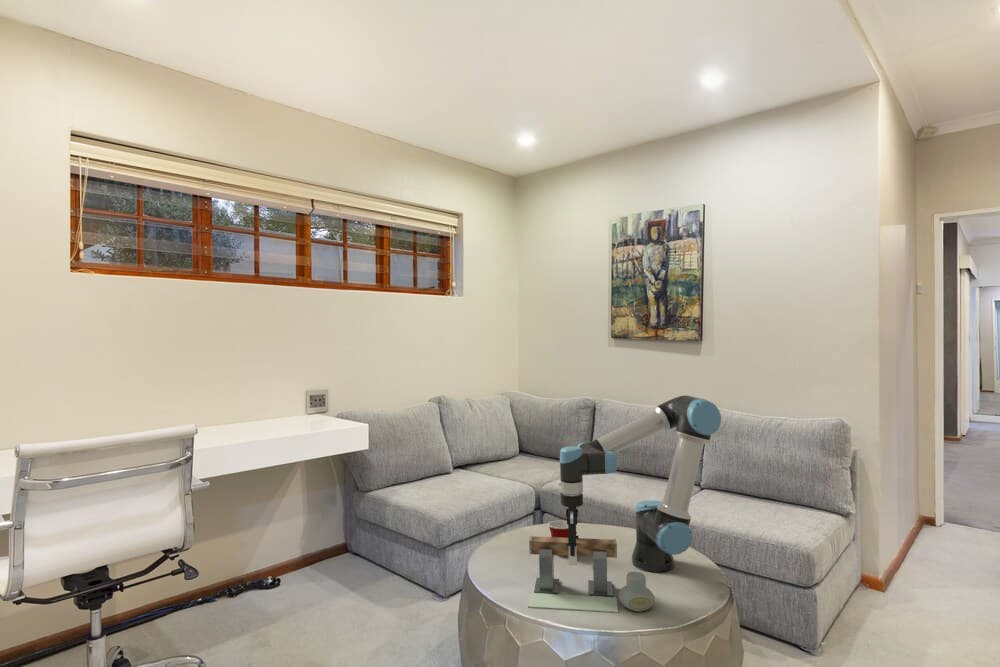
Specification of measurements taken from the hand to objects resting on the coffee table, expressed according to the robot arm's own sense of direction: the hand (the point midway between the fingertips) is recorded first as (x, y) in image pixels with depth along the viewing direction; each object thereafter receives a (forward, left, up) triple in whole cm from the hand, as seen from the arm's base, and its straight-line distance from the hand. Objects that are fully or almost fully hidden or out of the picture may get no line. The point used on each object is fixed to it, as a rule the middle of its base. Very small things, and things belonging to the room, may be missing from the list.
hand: (573, 561), depth 186 cm
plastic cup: (+5, -29, -9) cm, 31 cm away
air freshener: (-20, +10, -10) cm, 24 cm away
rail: (0, 0, +3) cm, 3 cm away
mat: (0, +10, -9) cm, 14 cm away
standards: (0, 0, -9) cm, 9 cm away
